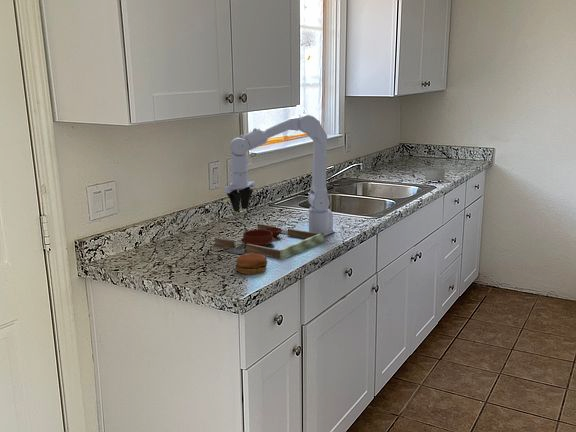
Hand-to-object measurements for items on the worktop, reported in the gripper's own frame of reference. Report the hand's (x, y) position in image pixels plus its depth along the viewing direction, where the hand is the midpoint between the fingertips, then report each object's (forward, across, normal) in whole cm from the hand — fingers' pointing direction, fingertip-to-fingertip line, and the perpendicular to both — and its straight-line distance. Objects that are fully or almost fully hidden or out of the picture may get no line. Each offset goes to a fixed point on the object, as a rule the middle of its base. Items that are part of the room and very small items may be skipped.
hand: (240, 209), depth 205 cm
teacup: (+11, -150, +16) cm, 151 cm away
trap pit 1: (+10, +14, +10) cm, 20 cm away
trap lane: (+10, 0, +13) cm, 17 cm away
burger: (+11, +26, +26) cm, 38 cm away
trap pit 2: (+10, -14, +10) cm, 20 cm away
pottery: (+11, 0, +10) cm, 15 cm away
